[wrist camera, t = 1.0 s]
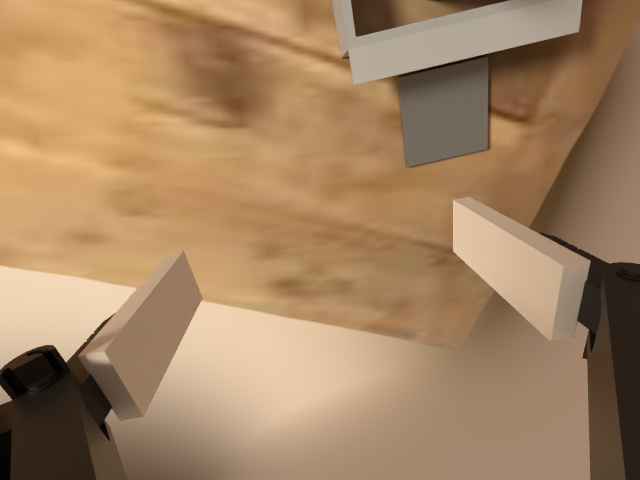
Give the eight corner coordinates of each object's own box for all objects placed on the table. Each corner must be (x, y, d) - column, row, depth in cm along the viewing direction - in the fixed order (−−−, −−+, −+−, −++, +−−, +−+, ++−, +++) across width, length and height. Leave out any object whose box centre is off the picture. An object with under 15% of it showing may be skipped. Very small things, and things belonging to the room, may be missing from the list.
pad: (396, 78, 34) (398, 77, 34) (485, 57, 34) (488, 56, 34) (405, 166, 38) (407, 167, 38) (484, 148, 38) (487, 149, 38)
